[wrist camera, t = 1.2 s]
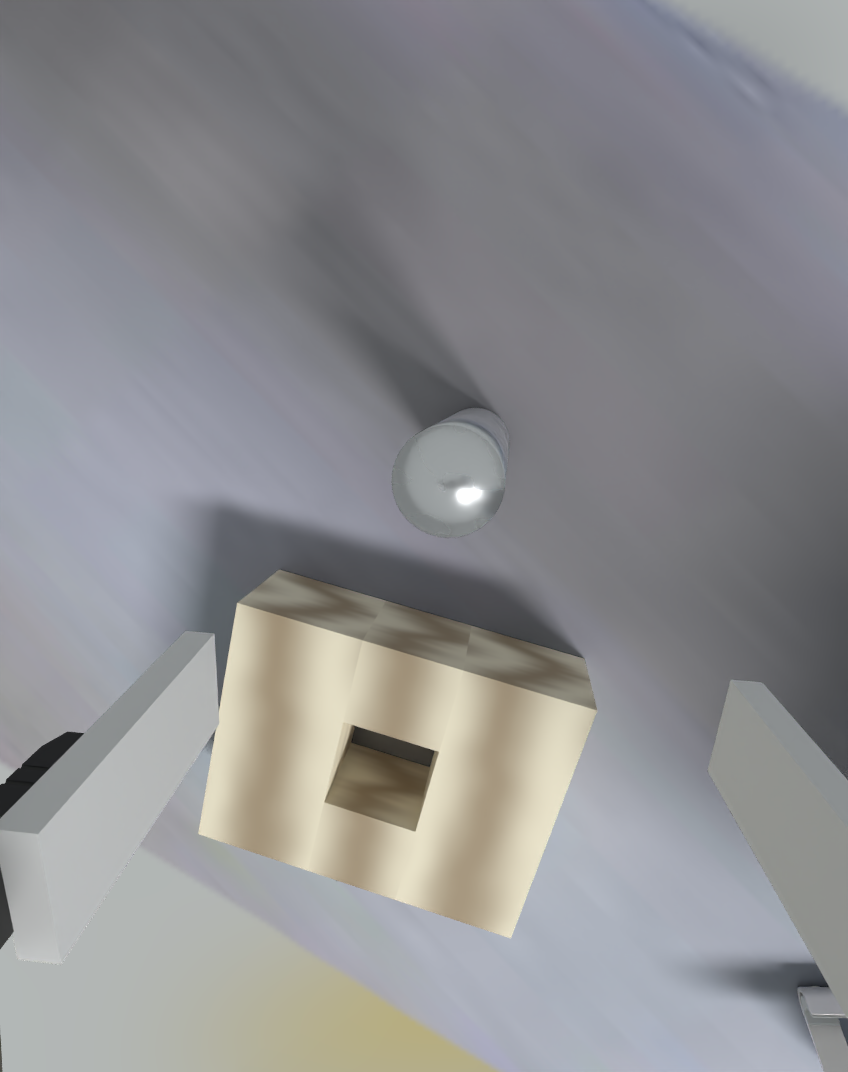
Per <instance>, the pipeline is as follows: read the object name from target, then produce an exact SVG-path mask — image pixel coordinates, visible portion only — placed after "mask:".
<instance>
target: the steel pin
mask: <svg viewBox="0 0 848 1072" xmlns="http://www.w3.org/2000/svg"><path fill="white" fill-rule="evenodd" d="M509 445H510V440H509V433H508V430H507V428H506V426H505V424H504V423H503V421H502V420H501V419H500V418H499V417H498V416H497V415H496V414H494V413H493V412H491V411H489V410H486V409H483V408H467V409H464V410H461V411H459V412H457V413H455V414H454V415H452V416H450V417H448V418H446V419H444V420H442V421H440V422H438V423H436V424H434V425H433V426H431V427H429V428H427V429H425V430H423V431H421V432H419V433H418V434H416V435H415V436H413V437H412V438H411V439H410V440H409V441H408V442H407V443H406V444H405V445H404V446H403V447H402V449H401V450H400V452H399V454H398V456H397V458H396V460H395V463H394V466H393V471H392V490H393V495H394V498H395V501H396V504H397V505H398V507H399V509H400V511H401V512H402V514H403V515H404V516H405V518H406V519H407V520H408V521H409V522H410V523H411V524H413V525H414V526H415V527H417V528H418V529H420V530H421V531H423V532H425V533H427V534H430V535H433V536H438V537H444V538H455V537H461V536H465V535H468V534H471V533H473V532H475V531H477V530H478V529H480V528H482V527H483V526H484V525H485V524H486V523H488V522H489V521H490V519H491V518H492V517H493V516H494V514H495V513H496V512H497V510H498V508H499V506H500V504H501V501H502V498H503V494H504V489H505V480H506V472H507V463H508V454H509Z"/></svg>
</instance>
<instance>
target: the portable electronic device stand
mask: <svg viewBox="0 0 848 1072" xmlns="http://www.w3.org/2000/svg"><path fill="white" fill-rule="evenodd" d="M797 992H798V998H799V1003H800V1006H801V1009H802V1012H803V1015H804V1018H805V1021H806V1023H807V1026H808V1029H809V1032H810V1035H811V1038H812V1041H813V1043H814V1046H815V1049H816V1052H817V1055H818V1058H819V1061H820V1064H821V1066H822V1069H823V1072H848V1045H847V1042H846V1040H845V1037H844V1034H843V1032H842V1029H841V1027H840V1022H839V1019H838V1018H847V1017H846V1016H845V1014H844V1012H843V1010H842V1008H841V1007H840V1005H839V1003H838V1001H837V1000H836V998H835V996H834V994H833V993H832V991H831V989H830V987H819V986H811V987H798V989H797Z"/></svg>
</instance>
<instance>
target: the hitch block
mask: <svg viewBox="0 0 848 1072" xmlns="http://www.w3.org/2000/svg"><path fill="white" fill-rule="evenodd" d="M596 713H597V708H596V704H595V699H594V695H593V691H592V687H591V683H590V679H589V675H588V671H587V667H586V663H585V659H584V658H580V657H577V656H573V655H570V654H567V653H563V652H560V651H556V650H553V649H549V648H546V647H543V646H539V645H536V644H532V643H529V642H526V641H522V640H519V639H515V638H512V637H508V636H505V635H502V634H498V633H495V632H491V631H488V630H485V629H481V628H478V627H474V626H471V625H467V624H464V623H461V622H457V621H454V620H450V619H447V618H444V617H440V616H437V615H433V614H430V613H426V612H423V611H420V610H416V609H413V608H409V607H406V606H403V605H399V604H396V603H392V602H389V601H385V600H382V599H379V598H375V597H372V596H368V595H365V594H362V593H358V592H355V591H351V590H348V589H344V588H341V587H338V586H334V585H331V584H327V583H324V582H321V581H317V580H314V579H310V578H307V577H303V576H300V575H297V574H293V573H290V572H286V571H283V570H280V569H279V570H278V571H277V572H275V573H274V574H273V575H272V576H270V577H269V578H268V579H267V580H265V581H264V582H263V583H262V584H260V585H259V586H258V587H256V588H255V589H254V590H253V591H251V592H250V593H249V594H248V595H246V596H245V597H244V598H243V599H241V600H240V601H239V602H238V603H237V607H236V613H235V619H234V624H233V630H232V636H231V642H230V648H229V654H228V660H227V666H226V672H225V678H224V684H223V690H222V696H221V702H220V708H219V725H218V727H217V728H216V732H215V738H214V744H213V750H212V756H211V762H210V768H209V774H208V780H207V785H206V791H205V797H204V803H203V809H202V815H201V821H200V827H199V833H198V834H200V835H203V836H206V837H209V838H212V839H215V840H218V841H221V842H224V843H227V844H230V845H233V846H236V847H239V848H242V849H245V850H248V851H251V852H254V853H257V854H260V855H263V856H266V857H269V858H272V859H275V860H278V861H281V862H284V863H287V864H290V865H293V866H296V867H299V868H302V869H305V870H308V871H311V872H314V873H317V874H320V875H323V876H326V877H329V878H331V879H334V880H337V881H340V882H343V883H346V884H349V885H352V886H355V887H358V888H361V889H364V890H367V891H370V892H373V893H376V894H379V895H382V896H385V897H388V898H391V899H394V900H397V901H400V902H403V903H406V904H409V905H412V906H415V907H418V908H421V909H424V910H427V911H430V912H433V913H436V914H439V915H442V916H445V917H448V918H451V919H454V920H457V921H460V922H463V923H466V924H469V925H472V926H475V927H478V928H481V929H484V930H487V931H490V932H493V933H496V934H499V935H502V936H505V937H508V938H511V937H512V934H513V931H514V929H515V926H516V923H517V921H518V918H519V916H520V913H521V910H522V908H523V905H524V902H525V900H526V897H527V894H528V892H529V889H530V887H531V884H532V881H533V879H534V876H535V873H536V871H537V868H538V865H539V863H540V860H541V858H542V855H543V852H544V850H545V847H546V844H547V842H548V839H549V836H550V834H551V831H552V829H553V826H554V823H555V821H556V818H557V815H558V813H559V810H560V807H561V805H562V802H563V800H564V797H565V794H566V792H567V789H568V786H569V784H570V781H571V778H572V776H573V773H574V771H575V768H576V765H577V763H578V760H579V757H580V755H581V752H582V749H583V747H584V744H585V742H586V739H587V736H588V734H589V731H590V728H591V726H592V723H593V720H594V718H595V715H596ZM355 726H357V727H361V728H364V729H367V730H370V731H374V732H377V733H380V734H383V735H386V736H390V737H393V738H396V739H399V740H402V741H406V742H409V743H412V744H415V745H418V746H422V747H425V748H428V749H431V750H435V751H434V755H433V758H432V762H431V765H430V767H427V766H424V765H421V764H418V763H415V762H412V761H408V760H405V759H402V758H399V757H396V756H392V755H389V754H386V753H383V752H380V751H376V750H373V749H370V748H367V747H364V746H361V745H357V744H354V743H351V742H352V738H353V734H354V729H355Z"/></svg>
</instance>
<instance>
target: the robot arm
mask: <svg viewBox="0 0 848 1072" xmlns="http://www.w3.org/2000/svg"><path fill="white" fill-rule="evenodd" d="M218 725H219V707H218V689H217V671H216V652H215V634H214V633H204V632H193V631H185V632H184V633H183V634H182V635H181V636H180V637H179V638H178V639H177V640H176V641H175V642H174V643H173V644H172V645H171V646H170V647H169V648H168V649H167V650H166V651H165V652H164V653H163V654H162V655H161V656H160V657H159V658H158V659H157V660H156V661H155V662H154V663H153V664H152V665H151V666H150V667H149V668H148V669H147V670H146V672H145V673H144V674H143V675H142V676H141V677H140V678H139V679H138V680H137V681H136V682H135V683H134V684H133V685H132V686H131V687H130V688H129V689H128V690H127V691H126V692H125V693H124V694H123V695H122V696H121V697H120V698H119V699H118V700H117V701H116V702H115V703H114V704H113V705H112V706H111V707H110V708H109V709H108V710H107V711H106V712H105V713H104V714H103V715H102V716H101V717H100V718H99V719H98V720H97V721H96V722H95V723H94V724H93V725H92V726H91V727H90V728H89V729H88V730H87V731H86V732H85V733H76V732H66V733H64V734H63V735H61V736H59V737H57V738H56V739H54V740H52V741H50V742H48V743H47V744H45V745H43V746H41V747H40V748H39V749H38V750H37V751H36V752H35V753H34V754H33V755H32V756H31V757H30V758H29V759H28V760H27V761H25V762H24V763H23V764H22V767H21V768H18V769H17V770H16V771H15V772H14V773H13V774H12V775H11V776H9V778H7V779H6V783H5V784H1V785H0V949H1V947H2V946H3V945H4V943H5V942H6V941H7V940H8V938H9V937H10V936H11V935H12V937H13V941H14V946H15V951H16V956H17V959H18V960H25V961H34V962H42V963H51V964H59V965H61V964H62V963H63V962H64V960H65V958H66V957H67V955H68V954H69V952H70V951H71V949H72V948H73V946H74V945H75V943H76V942H77V940H78V939H79V937H80V936H81V934H82V933H83V931H84V929H85V928H86V926H87V925H88V923H89V922H90V920H91V919H92V917H93V916H94V914H95V913H96V911H97V909H98V908H99V907H100V905H101V904H102V902H103V901H104V899H105V897H106V896H107V894H108V893H109V891H110V890H111V888H112V887H113V885H114V884H115V882H116V880H117V879H118V878H119V876H120V875H121V873H122V871H123V870H124V868H125V867H126V865H127V864H128V862H129V861H130V859H131V858H132V856H133V855H134V853H135V852H136V850H137V849H138V847H139V846H140V844H141V843H142V841H143V840H144V838H145V836H146V835H147V833H148V832H149V830H150V829H151V827H152V826H153V824H154V823H155V821H156V820H157V818H158V817H159V815H160V814H161V812H162V811H163V809H164V808H165V806H166V804H167V803H168V801H169V800H170V798H171V797H172V795H173V794H174V792H175V791H176V789H177V788H178V786H179V785H180V783H181V782H182V780H183V779H184V777H185V775H186V774H187V772H188V771H189V769H190V768H191V766H192V765H193V763H194V762H195V760H196V759H197V757H198V756H199V754H200V753H201V751H202V750H203V748H204V747H205V745H206V743H207V742H208V740H209V739H210V737H211V736H212V734H213V733H214V731H215V730H216V728H217V727H218ZM708 773H709V775H710V776H711V778H712V780H713V782H714V783H715V785H716V787H717V789H718V791H719V792H720V794H721V796H722V798H723V799H724V801H725V803H726V805H727V806H728V808H729V810H730V812H731V814H732V815H733V817H734V819H735V821H736V822H737V824H738V826H739V828H740V830H741V831H742V833H743V835H744V837H745V838H746V840H747V842H748V844H749V845H750V847H751V849H752V851H753V853H754V854H755V856H756V858H757V860H758V861H759V863H760V865H761V867H762V868H763V870H764V872H765V874H766V876H767V877H768V879H769V881H770V883H771V884H772V886H773V888H774V890H775V892H776V893H777V895H778V897H779V899H780V900H781V902H782V904H783V906H784V907H785V909H786V911H787V913H788V915H789V916H790V918H791V920H792V922H793V923H794V925H795V927H796V929H797V931H798V932H799V934H800V936H801V938H802V939H803V941H804V943H805V945H806V946H807V948H808V950H809V952H810V954H811V955H812V957H813V959H814V961H815V962H816V964H817V966H818V968H819V970H820V971H821V973H822V975H823V977H824V978H825V980H826V982H827V984H828V985H829V987H830V989H831V991H832V993H833V994H834V996H835V998H836V1000H837V1001H838V1003H839V1005H840V1007H841V1008H842V1010H843V1012H844V1014H845V1016H846V1017H847V1019H848V780H847V779H846V778H845V776H844V775H843V774H842V773H841V772H840V771H839V770H838V768H837V767H836V766H835V765H834V764H833V763H832V762H831V760H830V759H829V758H828V757H827V756H826V755H825V754H824V752H823V751H822V750H821V749H820V748H819V747H818V746H817V744H816V743H815V742H814V741H813V740H812V739H811V738H810V736H809V735H808V734H807V733H806V732H805V731H804V730H803V728H802V727H801V726H800V725H799V724H798V723H797V722H796V720H795V719H794V718H793V717H792V716H791V715H790V714H789V712H788V711H787V710H786V709H785V708H784V707H783V706H782V704H781V703H780V702H779V701H778V700H777V699H776V698H775V696H774V695H773V694H772V693H771V692H770V691H769V690H768V688H767V687H766V686H765V685H764V684H763V683H762V682H753V681H742V680H730V684H729V688H728V692H727V696H726V700H725V704H724V708H723V712H722V716H721V720H720V724H719V727H718V731H717V735H716V739H715V743H714V747H713V751H712V755H711V759H710V763H709V767H708ZM0 1072H2V1056H1V1038H0Z"/></svg>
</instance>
